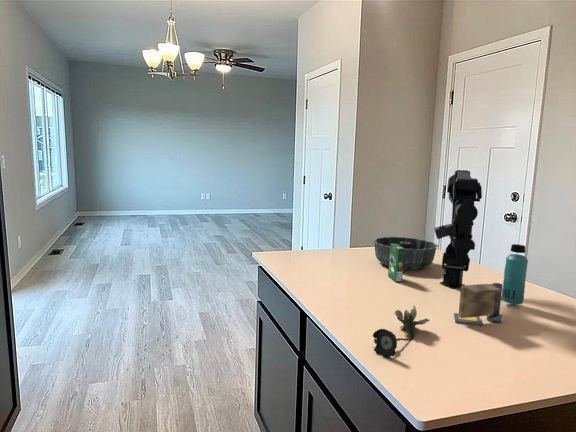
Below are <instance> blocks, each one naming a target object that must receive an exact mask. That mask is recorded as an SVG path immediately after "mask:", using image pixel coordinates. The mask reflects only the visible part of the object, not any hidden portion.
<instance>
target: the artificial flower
mask: <svg viewBox="0 0 576 432" xmlns="http://www.w3.org/2000/svg"><path fill="white" fill-rule="evenodd" d="M417 314H418V313H417V307H416V305H413V308H412V309H411V310H410V311H408V310H407V309H405V310H404V313H403V312H402V311H401V310H399V309H396V310H395V311H394V315H395V316H396V318H397V320H398V321H399V322H401V324H403V325H401V326H400V327H399V328H400V329H402V328H405V329H406V332H407V334H408V336H409V338H404V337H403V338H402V337H399V338H398V337H397V336H396V334H394V333H393V332H392V331H390V330H388V329H387V328H380V329H377V330H376V331H374V333H373V334H372V337H373V338H374V339H373V342H374V344H375V347H374V346H373V347H372V349H373V351H374V352H375V353H376V355H381V356H383V358H389V357H394V356H395V355H396V353H397V352H396V349H397V346H398V342H399V341H405V342H406V341H407V342H410V341H413V339H414V337H415V336H416V332H417V331H416V326H418V325H421V326H422V325H425V324H426V323H428V322H430V320H431V319H428V318H424V319H421V320H416V317H417Z"/></svg>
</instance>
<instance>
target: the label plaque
mask: <svg viewBox="0 0 576 432" xmlns="http://www.w3.org/2000/svg"><path fill="white" fill-rule="evenodd" d="M458 314H459V312H458V313H457V312H456V313H455V312H453V317H454V323H455V324H462V325H469V326H476V327H482V326H483V322H482V319H481V318H480V317H481V316H478V317H468V318H460V317H458Z"/></svg>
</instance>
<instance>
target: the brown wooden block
mask: <svg viewBox="0 0 576 432" xmlns="http://www.w3.org/2000/svg"><path fill="white" fill-rule="evenodd" d="M502 287H503V283H499V282H494V283H480V284H479V283H478V284H477V283H476V284H467V285H466V284H464V286H461V287H460V293H459V307H458V317H460V318H468V317H478V316H479V317H487V316H488V315H496V316H498V315H499V314H500V311H501V310H500V309H501V300H502V297H501V296H502Z"/></svg>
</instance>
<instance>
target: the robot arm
mask: <svg viewBox="0 0 576 432" xmlns="http://www.w3.org/2000/svg"><path fill="white" fill-rule="evenodd" d="M446 190H447V191H446V193H448V200H449V202H450V203H451V204H452V210H451V223H449V224H445V225H441V226H436V227H434V233H435V236H436V239H437V240H441V239H442V238H447V237H449V239H450V242H449V243H448V244H447V246H446V247H445V251H444V252H443V253H442V259H441V261H442V262H441V269H442V270H444V272H443V276H442V277H443V279H442V281H440V282H439V284H440V285H444V286H445V287H448V288H451V289H457V288H461V286H464V285H465V284H464V283H463V276H464V275H463V274H464V272H468V271H469V268H470V262H471V258H470V257H469V252H471V251H475V249H476V248H475V246H476V243H475V241H474V240H473V227H474V224H475V223H474V220H476V218H477V217H478V215H479V214H478V213H479V212H478V208H477V207H476V206H475V202H481V200H482V198H483V195H482V193H483V191H482V185H481V183H480V182H479V180H478V179H477V178H473V177H472V176H471V171H469V170H468V169H467V170H464V169H463V170H462V169H458V170H454V174H453V175H451V176H450V177H449V178H448V181H447V189H446Z"/></svg>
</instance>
